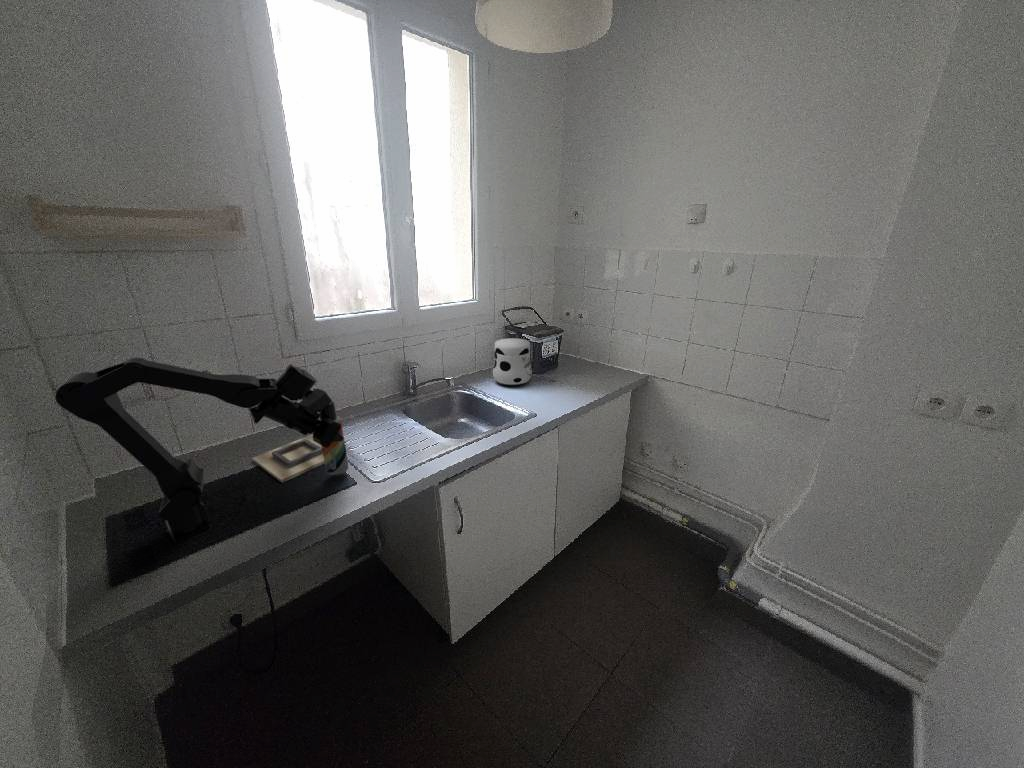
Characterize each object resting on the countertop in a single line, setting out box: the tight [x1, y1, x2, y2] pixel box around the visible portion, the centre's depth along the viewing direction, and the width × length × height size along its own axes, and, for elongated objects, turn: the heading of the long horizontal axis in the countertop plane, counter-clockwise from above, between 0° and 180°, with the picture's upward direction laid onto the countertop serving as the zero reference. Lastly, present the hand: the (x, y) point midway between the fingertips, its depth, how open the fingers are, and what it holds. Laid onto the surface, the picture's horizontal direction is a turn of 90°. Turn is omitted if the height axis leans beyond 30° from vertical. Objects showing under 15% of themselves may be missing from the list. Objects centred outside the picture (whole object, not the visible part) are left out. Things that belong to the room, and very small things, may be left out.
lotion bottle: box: [318, 401, 349, 476], centre depth 105 cm, size 6×6×20 cm
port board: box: [251, 434, 325, 484], centre depth 118 cm, size 18×18×2 cm
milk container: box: [492, 337, 533, 387], centre depth 174 cm, size 17×17×18 cm
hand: (336, 436), depth 106 cm, fingers closed on lotion bottle, 5 cm apart
